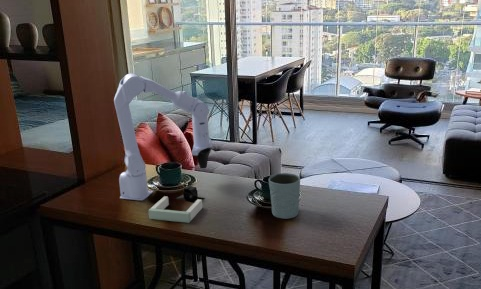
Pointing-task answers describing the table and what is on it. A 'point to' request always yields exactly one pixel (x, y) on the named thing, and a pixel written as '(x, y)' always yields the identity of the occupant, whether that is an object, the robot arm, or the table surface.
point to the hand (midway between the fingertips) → (203, 167)
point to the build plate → (190, 194)
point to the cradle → (172, 215)
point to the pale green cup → (284, 195)
